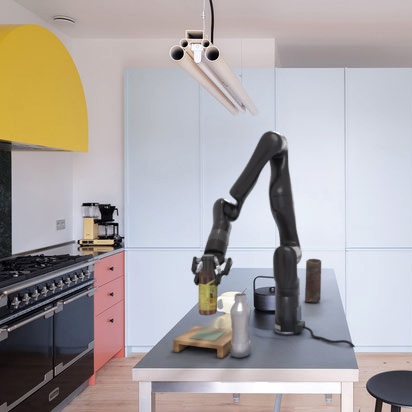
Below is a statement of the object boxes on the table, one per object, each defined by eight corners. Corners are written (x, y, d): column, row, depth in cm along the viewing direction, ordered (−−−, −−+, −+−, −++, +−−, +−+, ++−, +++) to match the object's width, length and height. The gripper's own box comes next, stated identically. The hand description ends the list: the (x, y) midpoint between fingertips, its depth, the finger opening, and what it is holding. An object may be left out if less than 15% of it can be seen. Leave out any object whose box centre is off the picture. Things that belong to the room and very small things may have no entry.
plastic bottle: (230, 352, 137) (230, 292, 136) (251, 351, 137) (251, 291, 136) (228, 360, 130) (228, 297, 129) (250, 359, 131) (250, 297, 130)
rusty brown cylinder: (321, 300, 199) (322, 258, 198) (320, 304, 192) (320, 261, 191) (306, 299, 201) (306, 258, 200) (303, 303, 193) (304, 261, 192)
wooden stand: (241, 342, 145) (241, 330, 145) (222, 358, 132) (222, 345, 132) (195, 336, 150) (195, 325, 150) (173, 351, 137) (173, 339, 137)
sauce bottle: (212, 316, 137) (212, 257, 136) (195, 315, 138) (194, 256, 137) (220, 311, 143) (220, 254, 142) (203, 309, 145) (203, 253, 144)
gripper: (195, 237, 148) (182, 277, 136) (234, 238, 146) (224, 279, 135) (200, 249, 153) (188, 289, 142) (238, 250, 152) (229, 291, 141)
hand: (206, 284), depth 139 cm, fingers closed on sauce bottle, 6 cm apart
